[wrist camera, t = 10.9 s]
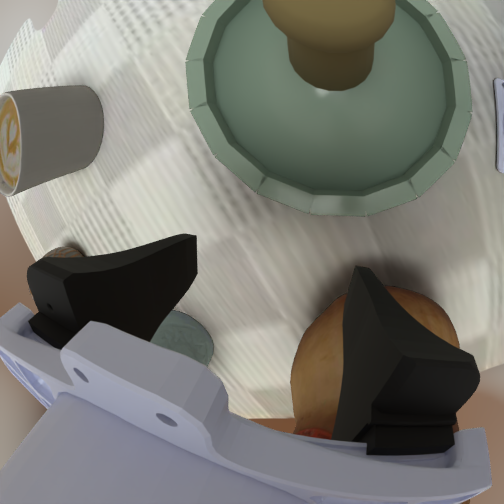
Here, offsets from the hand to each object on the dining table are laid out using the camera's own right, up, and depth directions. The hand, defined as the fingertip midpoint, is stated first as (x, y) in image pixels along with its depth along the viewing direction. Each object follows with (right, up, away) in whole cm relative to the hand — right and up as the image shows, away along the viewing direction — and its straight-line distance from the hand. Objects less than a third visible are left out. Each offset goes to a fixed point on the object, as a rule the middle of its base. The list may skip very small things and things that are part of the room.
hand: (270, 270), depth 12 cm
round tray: (+5, +13, +4) cm, 15 cm away
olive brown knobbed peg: (+5, +15, +3) cm, 15 cm away
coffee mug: (-22, +15, +12) cm, 29 cm away
